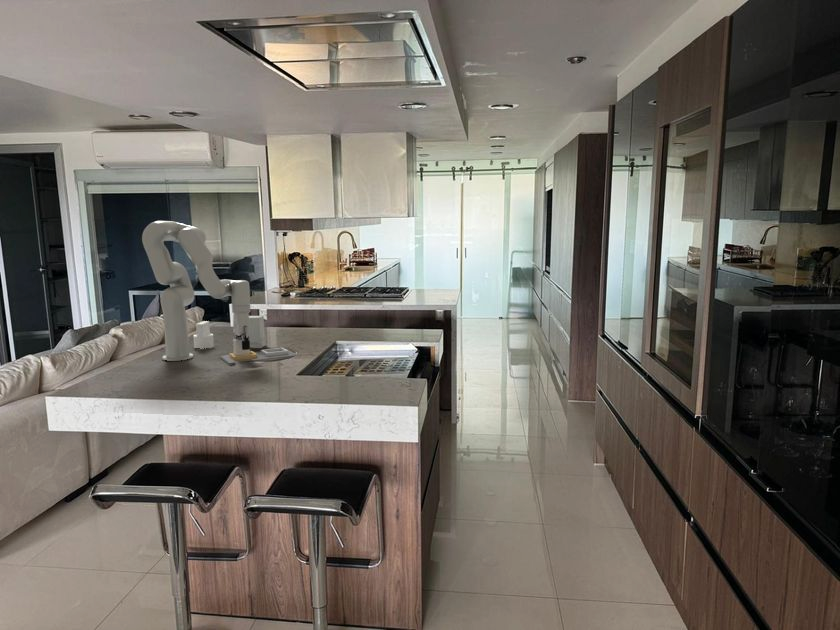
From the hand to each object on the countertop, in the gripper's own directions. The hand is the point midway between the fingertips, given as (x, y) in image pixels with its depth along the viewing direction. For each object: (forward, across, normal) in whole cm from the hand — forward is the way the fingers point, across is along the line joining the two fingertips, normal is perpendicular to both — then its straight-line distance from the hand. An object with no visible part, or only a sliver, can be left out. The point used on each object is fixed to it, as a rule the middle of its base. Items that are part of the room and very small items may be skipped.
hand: (242, 347), depth 250 cm
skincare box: (+6, -20, +11) cm, 24 cm away
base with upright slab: (+6, -36, -9) cm, 38 cm away
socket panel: (+5, 0, +7) cm, 9 cm away
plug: (+4, 0, -1) cm, 4 cm away
